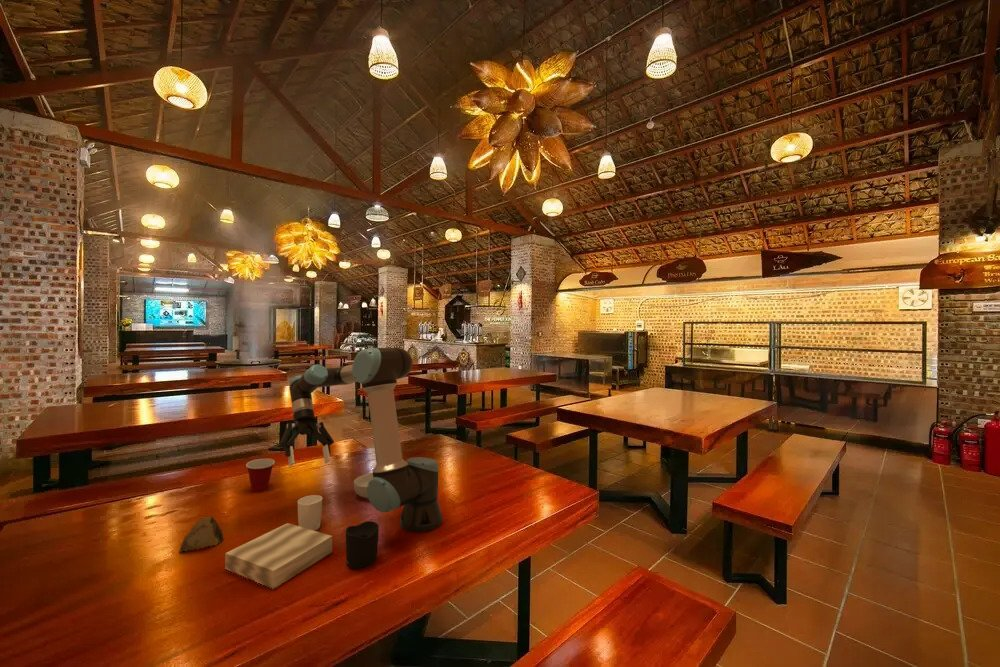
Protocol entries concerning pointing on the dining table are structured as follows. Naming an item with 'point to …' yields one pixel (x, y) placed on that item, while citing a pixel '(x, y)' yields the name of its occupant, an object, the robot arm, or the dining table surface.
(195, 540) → the rock
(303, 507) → the white cup
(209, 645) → the dining table surface
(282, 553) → the birch plinth
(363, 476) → the cereal bowl
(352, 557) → the pen holder
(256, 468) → the plastic cup
